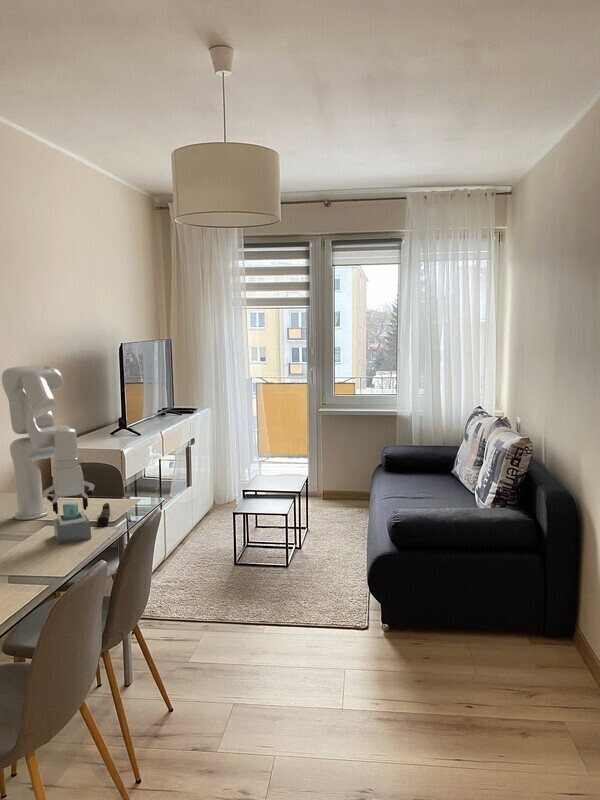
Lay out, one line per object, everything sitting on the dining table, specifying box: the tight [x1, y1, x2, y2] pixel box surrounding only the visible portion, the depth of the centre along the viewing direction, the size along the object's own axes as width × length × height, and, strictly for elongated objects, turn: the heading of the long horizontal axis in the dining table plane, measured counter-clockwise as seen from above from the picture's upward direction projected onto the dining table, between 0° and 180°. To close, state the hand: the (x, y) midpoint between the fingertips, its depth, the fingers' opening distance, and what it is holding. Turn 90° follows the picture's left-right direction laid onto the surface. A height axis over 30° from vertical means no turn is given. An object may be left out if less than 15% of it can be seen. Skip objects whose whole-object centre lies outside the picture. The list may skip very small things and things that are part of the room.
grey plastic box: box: [53, 511, 92, 545], centre depth 229 cm, size 11×11×8 cm
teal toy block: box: [62, 501, 79, 520], centre depth 228 cm, size 7×5×6 cm
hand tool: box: [97, 502, 111, 527], centre depth 250 cm, size 19×4×5 cm, turn 9°
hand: (70, 511), depth 229 cm, fingers open, 9 cm apart
